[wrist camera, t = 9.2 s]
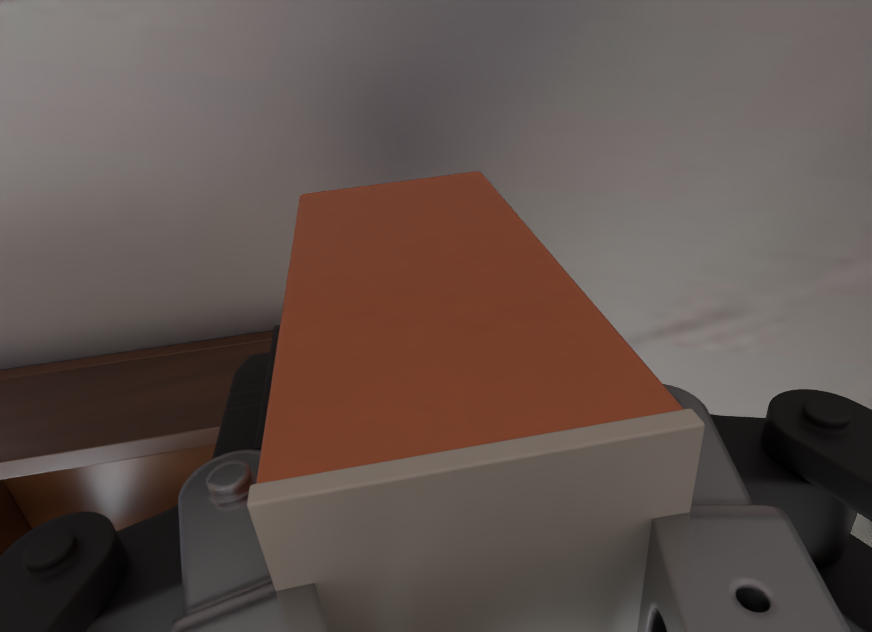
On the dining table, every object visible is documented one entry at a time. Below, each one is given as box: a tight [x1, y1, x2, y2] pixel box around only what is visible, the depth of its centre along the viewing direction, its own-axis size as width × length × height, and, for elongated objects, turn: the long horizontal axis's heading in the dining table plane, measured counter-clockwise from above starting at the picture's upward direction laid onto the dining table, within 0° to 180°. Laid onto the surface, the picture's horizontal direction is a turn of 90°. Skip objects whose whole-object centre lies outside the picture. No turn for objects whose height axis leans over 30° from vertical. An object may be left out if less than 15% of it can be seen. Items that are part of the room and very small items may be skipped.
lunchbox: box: [0, 331, 273, 556], centre depth 26 cm, size 16×15×6 cm
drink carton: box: [247, 171, 705, 632], centre depth 10 cm, size 5×4×8 cm
